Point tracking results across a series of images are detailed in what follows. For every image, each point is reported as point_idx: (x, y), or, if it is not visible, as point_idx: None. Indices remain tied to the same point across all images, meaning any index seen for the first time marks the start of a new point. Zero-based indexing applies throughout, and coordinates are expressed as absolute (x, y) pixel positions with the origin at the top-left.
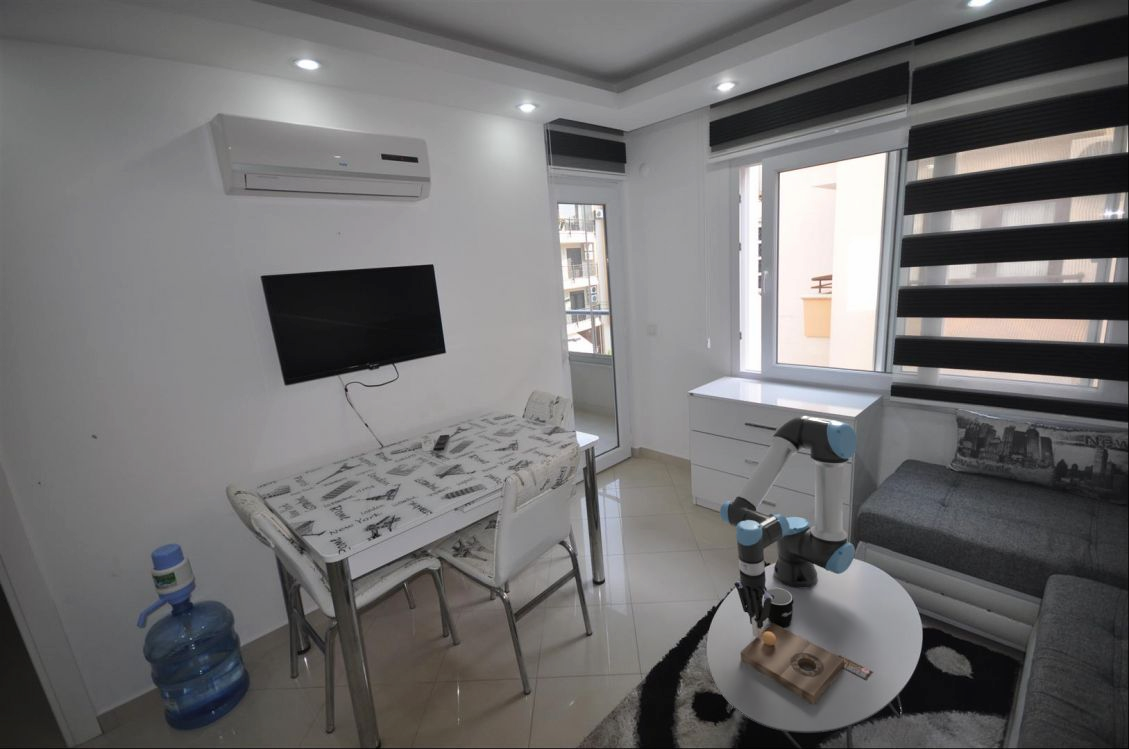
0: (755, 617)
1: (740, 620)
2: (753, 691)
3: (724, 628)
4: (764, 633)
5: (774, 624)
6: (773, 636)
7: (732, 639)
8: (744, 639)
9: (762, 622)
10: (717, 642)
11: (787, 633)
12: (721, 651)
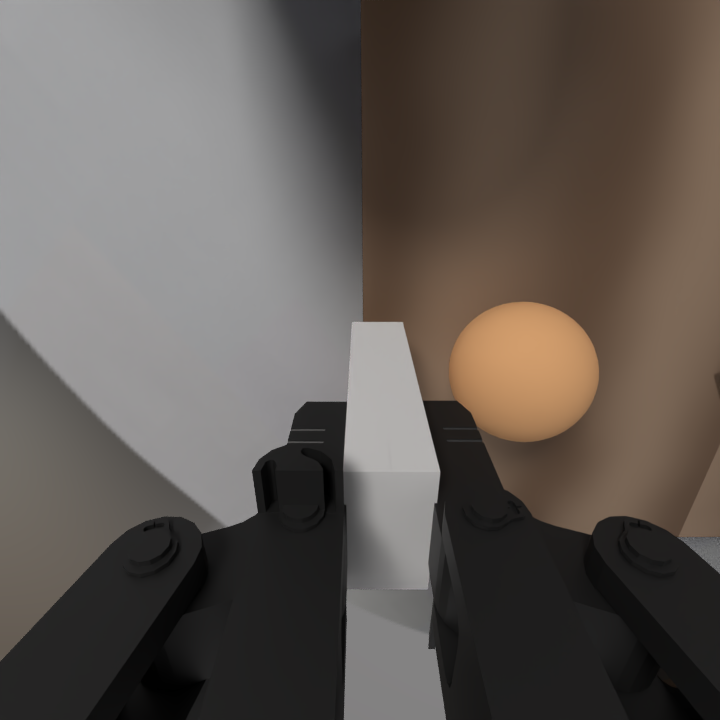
0: (389, 548)
1: (57, 150)
2: None
3: (70, 336)
4: (491, 418)
5: (405, 20)
6: (593, 385)
7: (200, 388)
8: (257, 332)
9: (485, 462)
10: (159, 467)
11: (605, 64)
12: (234, 503)
